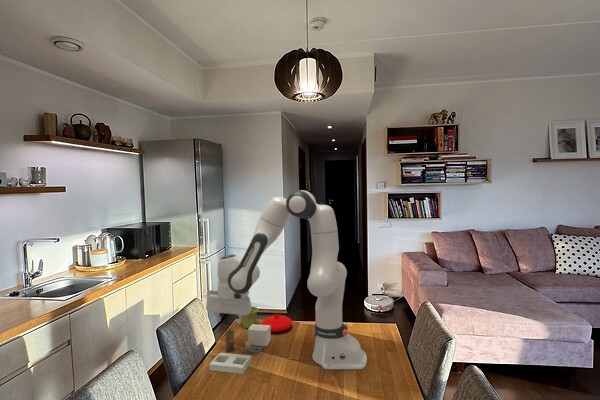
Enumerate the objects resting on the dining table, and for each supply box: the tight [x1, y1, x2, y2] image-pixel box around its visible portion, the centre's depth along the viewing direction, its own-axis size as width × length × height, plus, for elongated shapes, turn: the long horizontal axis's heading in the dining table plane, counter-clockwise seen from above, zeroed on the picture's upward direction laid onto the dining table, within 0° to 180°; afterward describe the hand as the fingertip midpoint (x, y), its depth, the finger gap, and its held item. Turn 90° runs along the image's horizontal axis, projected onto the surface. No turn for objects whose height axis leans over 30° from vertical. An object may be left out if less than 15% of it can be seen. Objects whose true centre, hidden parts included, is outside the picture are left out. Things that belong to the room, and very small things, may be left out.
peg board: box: [208, 352, 252, 375], centre depth 129 cm, size 14×9×2 cm, turn 77°
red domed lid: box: [260, 313, 293, 333], centre depth 163 cm, size 16×16×7 cm
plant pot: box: [241, 305, 259, 329], centre depth 167 cm, size 9×9×9 cm
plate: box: [241, 340, 263, 355], centre depth 141 cm, size 7×4×4 cm, turn 77°
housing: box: [247, 323, 272, 347], centre depth 149 cm, size 9×6×7 cm, turn 77°
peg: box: [225, 329, 235, 353], centre depth 142 cm, size 4×4×8 cm
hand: (228, 322), depth 142 cm, fingers open, 8 cm apart
